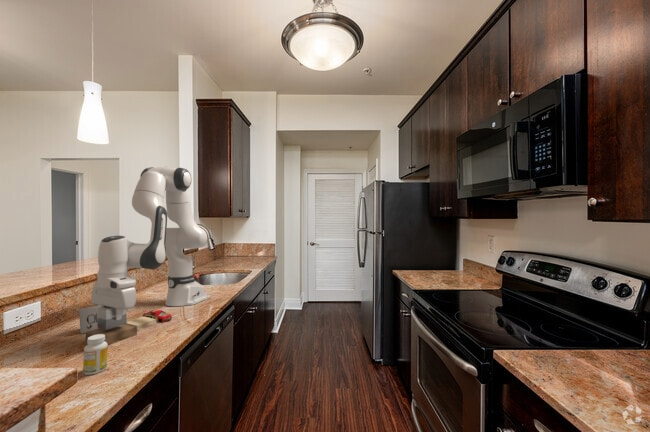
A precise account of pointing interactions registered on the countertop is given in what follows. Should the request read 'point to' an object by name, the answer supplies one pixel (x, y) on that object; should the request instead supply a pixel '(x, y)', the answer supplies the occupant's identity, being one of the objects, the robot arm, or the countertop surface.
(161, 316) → the race car
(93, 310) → the electrical switch
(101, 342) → the supplement bottle
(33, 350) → the countertop surface
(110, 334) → the walnut stand
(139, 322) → the oak riser
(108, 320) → the housing
